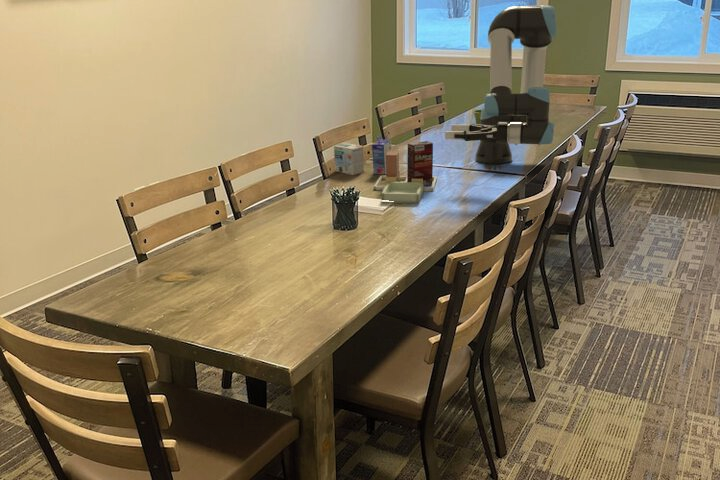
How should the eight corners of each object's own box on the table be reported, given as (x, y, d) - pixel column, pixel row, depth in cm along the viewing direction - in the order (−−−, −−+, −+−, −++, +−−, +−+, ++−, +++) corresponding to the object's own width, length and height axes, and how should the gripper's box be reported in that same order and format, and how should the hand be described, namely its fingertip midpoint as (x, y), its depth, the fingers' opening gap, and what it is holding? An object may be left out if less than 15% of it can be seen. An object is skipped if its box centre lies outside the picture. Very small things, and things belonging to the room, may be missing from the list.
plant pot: (500, 132, 342) (500, 109, 338) (491, 136, 333) (491, 113, 329) (478, 130, 348) (478, 108, 344) (468, 134, 339) (469, 112, 335)
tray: (423, 191, 248) (423, 182, 247) (418, 203, 234) (418, 194, 233) (388, 190, 251) (387, 181, 249) (381, 202, 237) (381, 193, 236)
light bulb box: (334, 171, 280) (333, 145, 276) (345, 168, 284) (344, 142, 281) (353, 175, 273) (352, 148, 269) (364, 171, 277) (363, 145, 274)
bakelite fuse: (399, 182, 261) (398, 151, 256) (396, 186, 255) (396, 155, 251) (388, 182, 261) (388, 151, 257) (386, 186, 256) (385, 155, 252)
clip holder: (437, 179, 263) (437, 169, 261) (433, 191, 248) (433, 180, 246) (380, 178, 267) (380, 168, 265) (373, 189, 252) (373, 179, 251)
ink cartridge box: (379, 168, 282) (378, 133, 277) (392, 168, 281) (392, 133, 276) (372, 174, 274) (371, 138, 269) (385, 174, 272) (384, 138, 267)
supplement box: (413, 188, 252) (413, 145, 247) (407, 185, 256) (406, 143, 251) (433, 184, 256) (433, 142, 251) (426, 181, 260) (426, 140, 255)
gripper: (505, 150, 230) (442, 149, 236) (510, 136, 253) (453, 135, 259) (505, 128, 228) (442, 127, 234) (511, 116, 250) (453, 115, 256)
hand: (448, 131), depth 246 cm, fingers open, 13 cm apart
